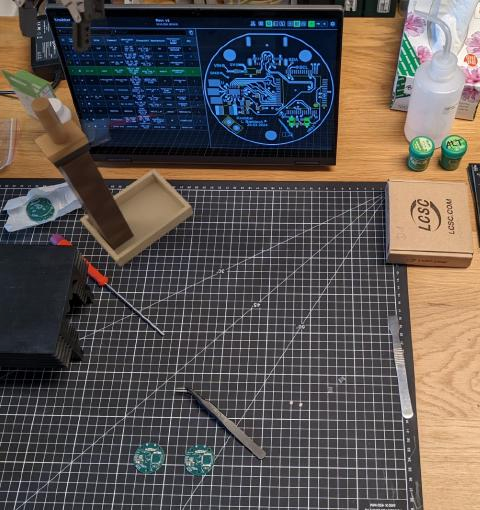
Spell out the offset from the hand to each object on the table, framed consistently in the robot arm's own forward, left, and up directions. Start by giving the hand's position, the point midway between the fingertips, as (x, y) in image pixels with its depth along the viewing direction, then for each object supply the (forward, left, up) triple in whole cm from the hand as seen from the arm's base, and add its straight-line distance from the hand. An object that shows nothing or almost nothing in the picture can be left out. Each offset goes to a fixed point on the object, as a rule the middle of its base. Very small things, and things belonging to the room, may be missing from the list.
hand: (55, 43), depth 84 cm
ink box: (-1, +29, -40) cm, 49 cm away
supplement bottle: (-1, +21, -40) cm, 45 cm away
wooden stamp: (-7, -6, -13) cm, 15 cm away
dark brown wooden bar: (-7, -5, -39) cm, 39 cm away
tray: (-2, -5, -40) cm, 40 cm away
